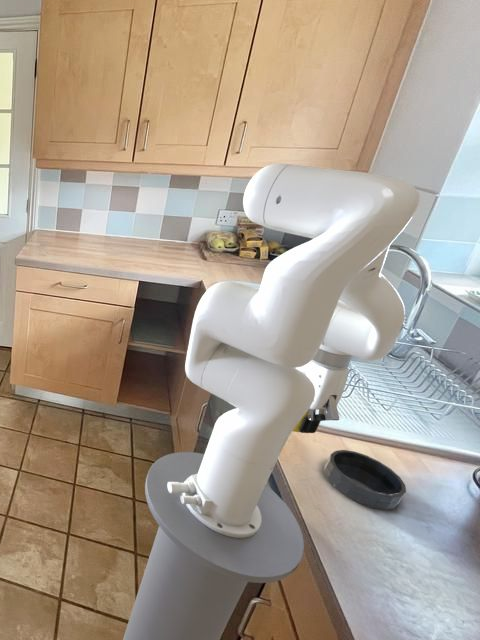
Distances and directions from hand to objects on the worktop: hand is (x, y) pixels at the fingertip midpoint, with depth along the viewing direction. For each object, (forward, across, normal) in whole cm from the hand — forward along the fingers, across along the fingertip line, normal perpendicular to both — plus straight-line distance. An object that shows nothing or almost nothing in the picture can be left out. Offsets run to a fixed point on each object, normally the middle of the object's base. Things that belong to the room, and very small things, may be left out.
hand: (296, 420), depth 91 cm
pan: (+5, +12, +6) cm, 14 cm away
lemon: (+3, 0, 0) cm, 3 cm away
